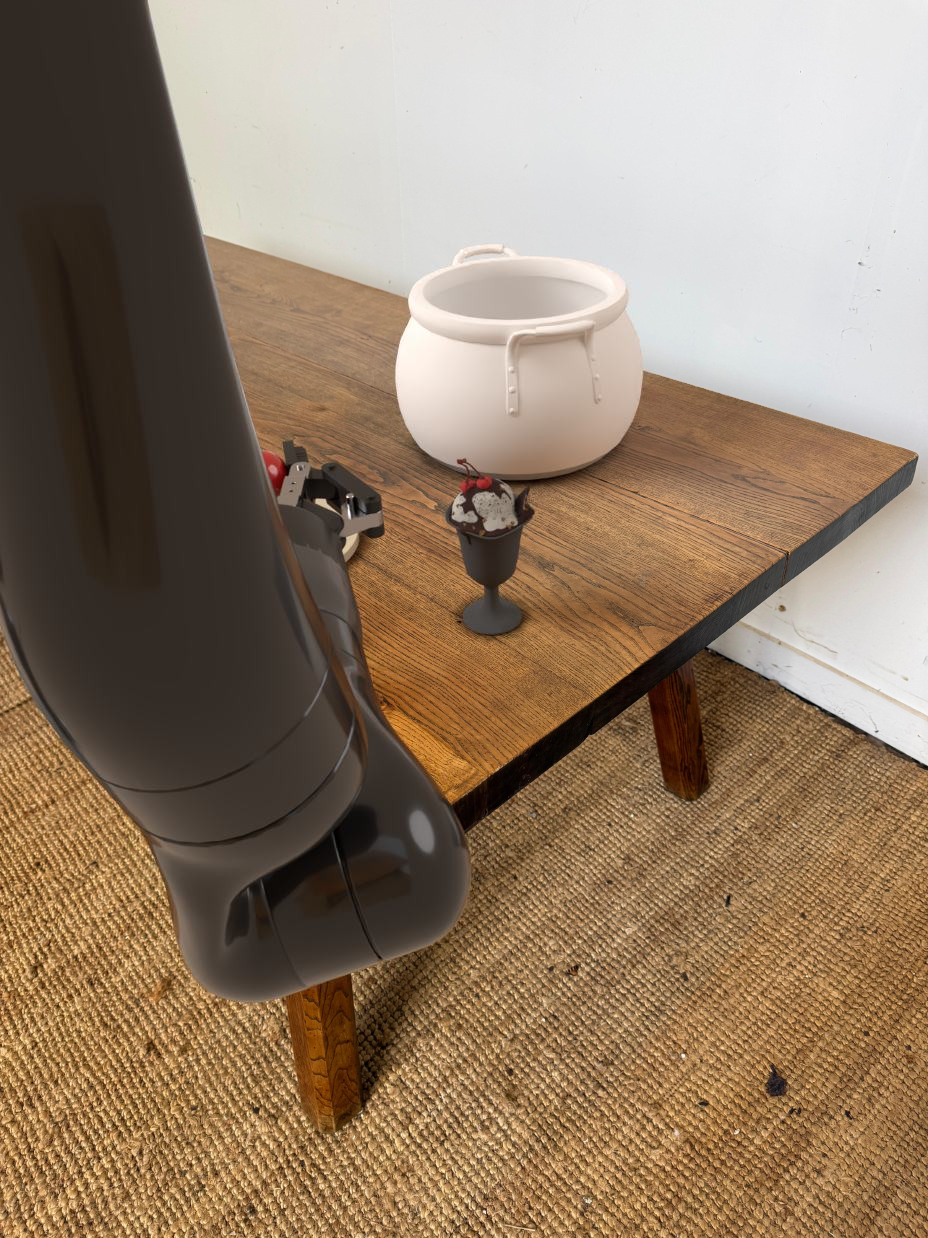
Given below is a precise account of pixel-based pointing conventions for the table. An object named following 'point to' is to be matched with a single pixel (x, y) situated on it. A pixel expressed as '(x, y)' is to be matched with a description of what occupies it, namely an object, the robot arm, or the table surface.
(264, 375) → the table surface
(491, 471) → the pot
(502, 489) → the sundae
